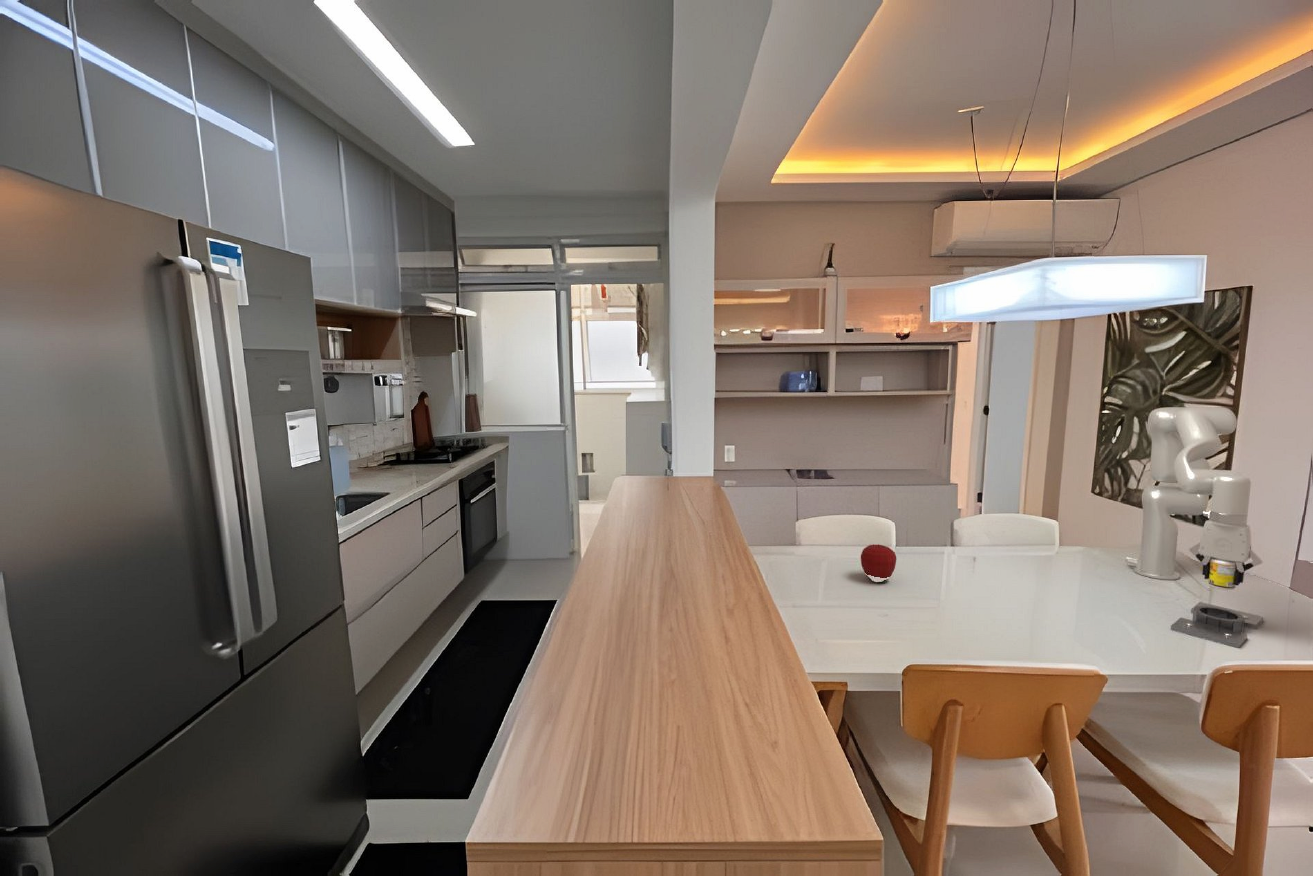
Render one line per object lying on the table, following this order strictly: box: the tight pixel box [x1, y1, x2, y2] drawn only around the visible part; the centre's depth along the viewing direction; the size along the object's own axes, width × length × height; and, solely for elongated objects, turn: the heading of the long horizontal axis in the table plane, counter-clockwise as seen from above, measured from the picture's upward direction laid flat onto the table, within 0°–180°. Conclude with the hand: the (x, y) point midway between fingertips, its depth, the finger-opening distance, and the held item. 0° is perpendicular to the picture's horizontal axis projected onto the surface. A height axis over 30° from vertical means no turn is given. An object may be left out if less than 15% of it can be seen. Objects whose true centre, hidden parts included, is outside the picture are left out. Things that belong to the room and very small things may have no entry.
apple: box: [860, 543, 897, 578], centre depth 210 cm, size 12×12×13 cm
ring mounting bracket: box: [1170, 601, 1264, 649], centre depth 171 cm, size 28×14×4 cm, turn 126°
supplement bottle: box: [1208, 558, 1238, 591], centre depth 169 cm, size 6×6×10 cm
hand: (1222, 580), depth 170 cm, fingers closed on supplement bottle, 5 cm apart
